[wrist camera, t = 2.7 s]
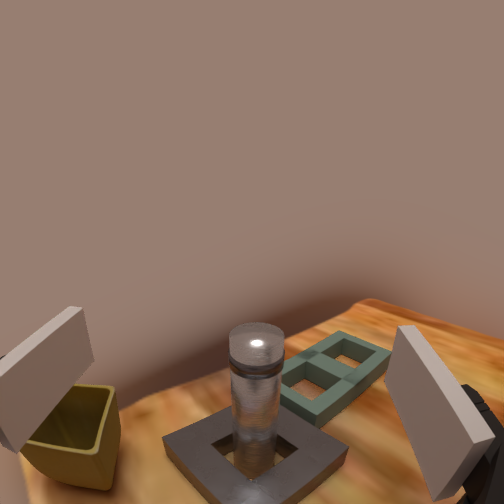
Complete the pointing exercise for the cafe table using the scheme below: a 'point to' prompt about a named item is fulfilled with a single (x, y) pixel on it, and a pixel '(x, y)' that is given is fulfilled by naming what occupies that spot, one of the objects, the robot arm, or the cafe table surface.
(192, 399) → the cafe table surface
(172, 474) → the cafe table surface
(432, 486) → the robot arm
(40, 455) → the flower pot
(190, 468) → the socket block
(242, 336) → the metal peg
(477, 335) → the cafe table surface
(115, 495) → the cafe table surface
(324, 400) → the frame
